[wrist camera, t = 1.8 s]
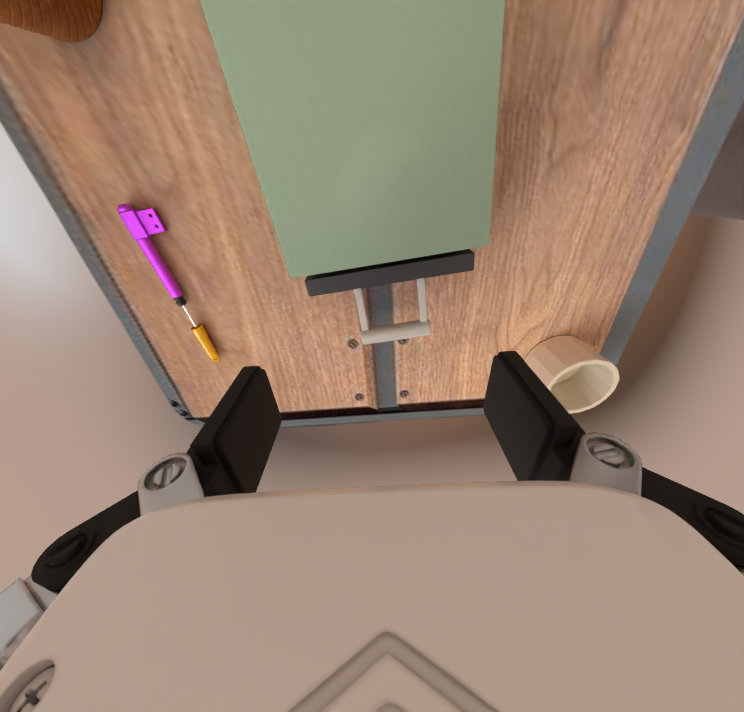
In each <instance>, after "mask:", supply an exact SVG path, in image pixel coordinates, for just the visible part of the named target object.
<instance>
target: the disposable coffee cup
mask: <svg viewBox="0 0 744 712" xmlns="http://www.w3.org/2000/svg"><path fill="white" fill-rule="evenodd" d="M100 17H101V0H0V23H3V24H9V25H10V26H14V27H20V28H21V29H25V30H29V31H31V32H35V33H40V34H42V35H46V36H50V37H52V38H56V39H59V40H61V41H67V42H77V41H83V40H84V39H86V38H88V37H90V36H91V35H92V34H93V33H94V31H95V29H96V28H97V26H98V24H99V20H100Z"/></svg>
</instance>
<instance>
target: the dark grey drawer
mask: <svg viewBox="0 0 744 712" xmlns="http://www.w3.org/2000/svg"><path fill="white" fill-rule="evenodd" d="M471 270H474V252H473V251H471V250H470V249H465V250H459V251H453V252H447V253H441V254H435V255H429V256H423V257H417V258H411V259H405V260H399V261H393V262H387V263H381V264H375V265H369V266H363V267H358V268H352V269H346V270H340V271H334V272H328V273H322V274H316V275H310V276H307V278H306V279H305V284H306V287H307V290H308V294H309V296H316V295H322V294H328V293H334V292H341V291H347V290H353V289H354V293H355V298H356V303H357V308H358V313H359V318H360V323H361V328H362V329H360V336H361V342H362V344H363V345H365V344H372V343H379V342H386V341H393V340H400V339H407V338H414V337H421V336H428V335H431V325H430V321H429V319H427V303H426V286H425V278H428V277H434V276H440V275H447V274H453V273H459V272H465V271H471ZM415 279H417V292H418V305H419V318H420V320H418V321H411V322H405V323H398V324H391V325H384V326H378V327H371V328H369V324H368V319H367V314H366V308H365V303H364V298H363V292H362V288H365V287H372V286H378V285H384V284H390V283H397V282H403V281H409V280H415Z"/></svg>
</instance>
